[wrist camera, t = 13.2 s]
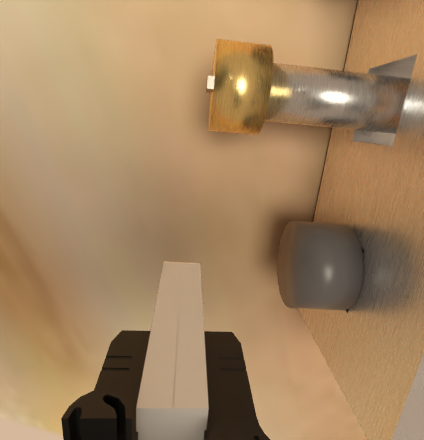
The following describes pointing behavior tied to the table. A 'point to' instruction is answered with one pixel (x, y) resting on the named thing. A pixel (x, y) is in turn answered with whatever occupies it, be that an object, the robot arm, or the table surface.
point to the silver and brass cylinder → (296, 93)
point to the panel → (380, 234)
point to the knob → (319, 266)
